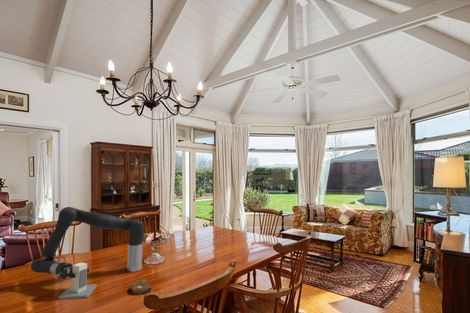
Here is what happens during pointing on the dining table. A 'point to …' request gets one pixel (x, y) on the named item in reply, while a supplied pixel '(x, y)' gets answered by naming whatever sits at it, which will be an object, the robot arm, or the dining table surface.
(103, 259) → the dining table surface
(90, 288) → the slate tile
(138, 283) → the decorative rock
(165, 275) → the dining table surface
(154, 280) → the dining table surface
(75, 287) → the off-white rectangular block
